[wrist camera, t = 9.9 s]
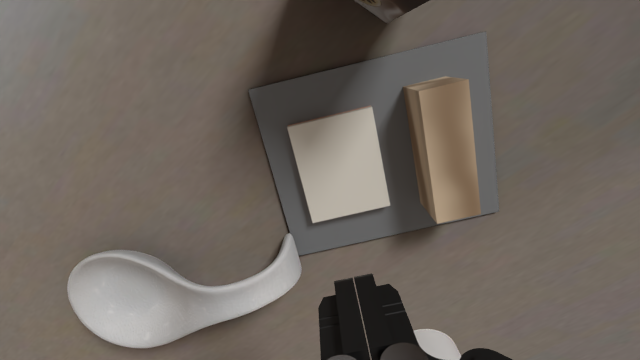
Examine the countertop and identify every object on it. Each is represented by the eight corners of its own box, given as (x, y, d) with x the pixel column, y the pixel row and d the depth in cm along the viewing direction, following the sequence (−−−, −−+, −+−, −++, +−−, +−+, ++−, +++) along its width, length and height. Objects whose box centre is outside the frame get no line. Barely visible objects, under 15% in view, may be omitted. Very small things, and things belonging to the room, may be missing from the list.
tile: (391, 200, 36) (320, 206, 39) (374, 104, 33) (298, 118, 36) (386, 218, 33) (308, 223, 36) (366, 113, 30) (283, 128, 33)
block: (420, 202, 37) (436, 223, 32) (402, 86, 33) (418, 91, 28) (458, 194, 37) (480, 214, 32) (445, 76, 33) (468, 79, 28)
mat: (297, 254, 39) (296, 256, 38) (248, 89, 33) (248, 90, 33) (497, 209, 38) (499, 211, 37) (483, 31, 32) (485, 31, 32)
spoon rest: (114, 333, 41) (75, 387, 35) (67, 247, 38) (13, 289, 31) (310, 291, 40) (309, 339, 33) (282, 197, 36) (274, 229, 29)
